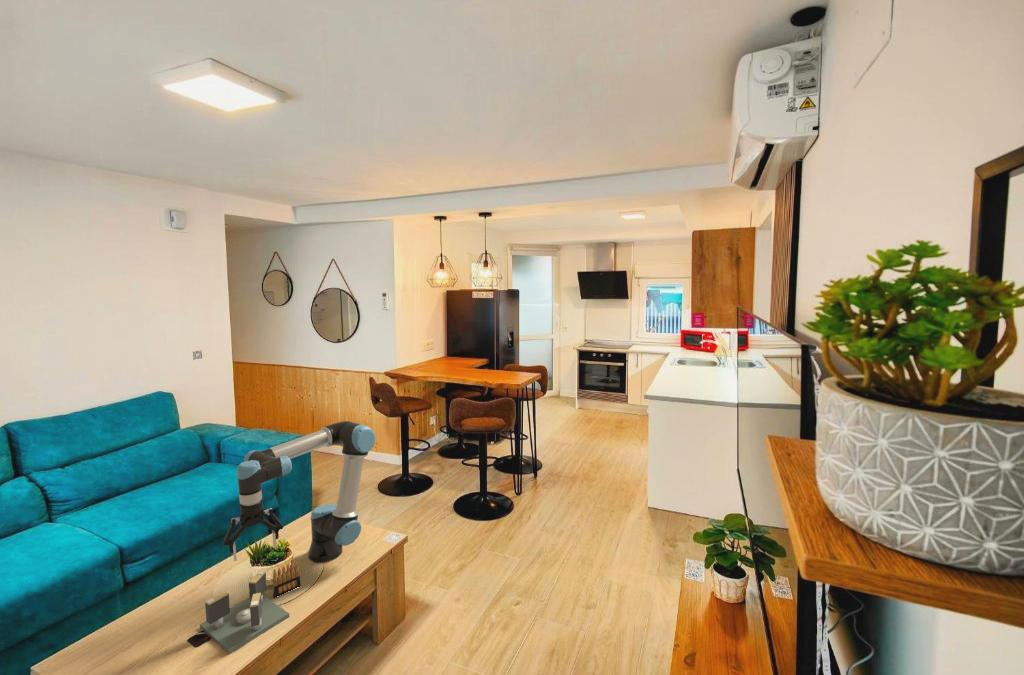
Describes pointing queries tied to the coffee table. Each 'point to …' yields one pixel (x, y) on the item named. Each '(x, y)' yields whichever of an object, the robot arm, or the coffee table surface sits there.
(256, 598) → the knob
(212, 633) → the plate
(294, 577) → the ammunition clip
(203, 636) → the smartphone
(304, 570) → the coffee table surface
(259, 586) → the grey brown rectangular block
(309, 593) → the coffee table surface
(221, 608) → the knob
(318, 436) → the robot arm
